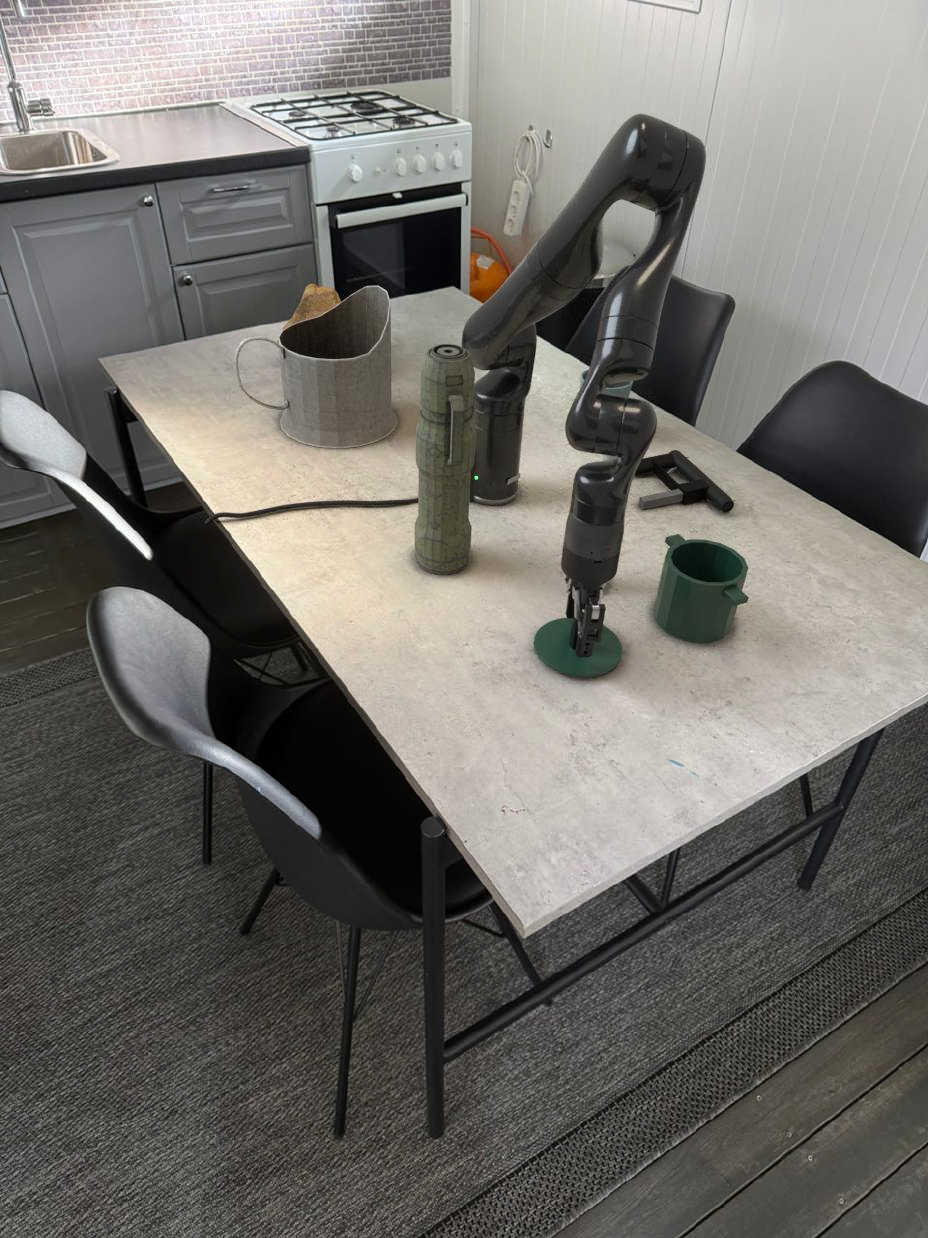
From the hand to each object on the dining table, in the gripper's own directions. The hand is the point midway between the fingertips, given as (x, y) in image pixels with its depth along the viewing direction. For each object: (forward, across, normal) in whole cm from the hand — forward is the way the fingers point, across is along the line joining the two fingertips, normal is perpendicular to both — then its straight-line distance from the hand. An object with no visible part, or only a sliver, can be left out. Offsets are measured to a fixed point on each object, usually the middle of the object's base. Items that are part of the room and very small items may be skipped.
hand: (578, 636), depth 129 cm
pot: (+3, -7, +19) cm, 20 cm away
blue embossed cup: (+3, -67, +16) cm, 69 cm away
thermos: (+3, -23, -18) cm, 29 cm away
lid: (+2, 0, 0) cm, 2 cm away
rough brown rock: (+3, -100, -42) cm, 108 cm away
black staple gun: (+3, -44, +25) cm, 51 cm away
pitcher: (+3, -70, -40) cm, 81 cm away
